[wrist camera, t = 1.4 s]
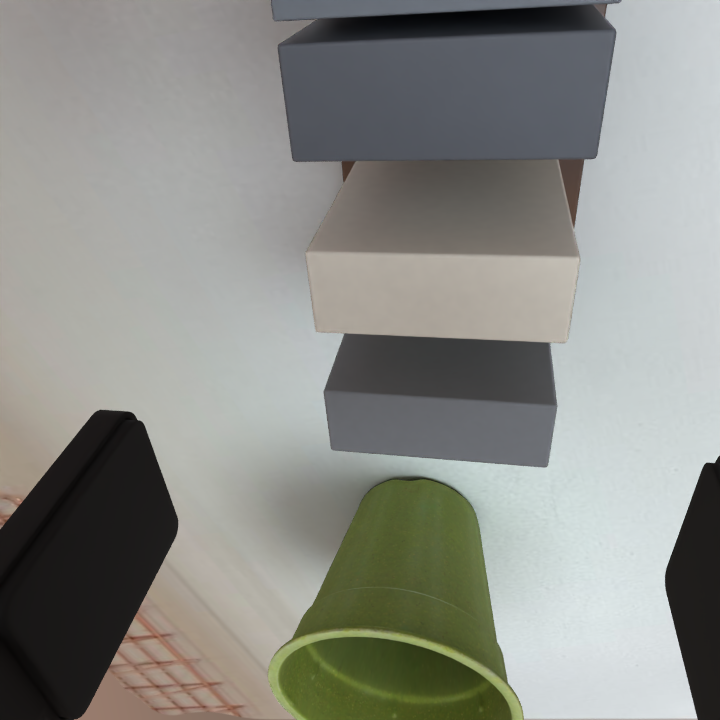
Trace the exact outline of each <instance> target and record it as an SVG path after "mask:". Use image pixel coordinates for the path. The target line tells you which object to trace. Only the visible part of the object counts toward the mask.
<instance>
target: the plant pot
mask: <svg viewBox="0 0 720 720" xmlns="http://www.w3.org/2000/svg"><path fill="white" fill-rule="evenodd" d="M268 680H269V683H270V687H271V689H272V692H273V694H274V695H275V697H276V699H277V700H278V702H279V703H280V704H281V706H282V707H283V708H284V709H285V710H286V711H287V712H288V713H290V714H291V715H292V716H293V717H294V718H295V719H296V720H524V716H523V710H522V706H521V704H520V701H519V699H518V697H517V695H516V694H515V692H514V691H513V689H512V688H511V687H510V685H509V684H508V681H507V675H506V670H505V664H504V658H503V654H502V651H501V649H500V647H499V645H498V643H497V639H496V632H495V626H494V620H493V613H492V607H491V601H490V595H489V588H488V582H487V575H486V568H485V562H484V555H483V549H482V542H481V535H480V529H479V524H478V520H477V517H476V513H475V511H474V509H473V507H472V506H471V505H470V503H469V502H468V501H467V500H466V499H465V498H464V497H463V496H461V495H460V494H459V493H457V492H456V491H455V490H453V489H451V488H449V487H447V486H445V485H443V484H440V483H437V482H434V481H430V480H425V479H420V480H415V481H404V480H398V479H394V480H389V481H386V482H384V483H381V484H379V485H377V486H375V487H374V488H372V489H371V490H370V491H369V492H368V493H367V494H366V495H365V496H364V498H363V499H362V501H361V503H360V505H359V507H358V510H357V512H356V514H355V516H354V518H353V520H352V522H351V524H350V527H349V529H348V531H347V533H346V535H345V537H344V540H343V542H342V544H341V546H340V548H339V550H338V552H337V554H336V556H335V558H334V561H333V563H332V565H331V567H330V569H329V571H328V573H327V575H326V578H325V580H324V582H323V584H322V586H321V589H320V591H319V593H318V595H317V597H316V599H315V601H314V603H313V605H312V606H311V607H310V608H309V609H308V610H307V612H306V613H305V614H304V616H303V618H302V619H301V621H300V623H299V626H298V628H297V630H296V632H295V634H294V636H293V638H292V639H291V640H290V641H288V642H287V643H286V644H284V645H283V646H282V647H281V648H280V649H279V650H278V651H277V652H276V653H275V655H274V656H273V658H272V660H271V662H270V665H269V669H268Z"/></svg>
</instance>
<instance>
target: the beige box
mask: <svg viewBox="0 0 720 720" xmlns="http://www.w3.org/2000/svg"><path fill="white" fill-rule="evenodd" d="M305 256H306V263H307V271H308V278H309V286H310V293H311V301H312V308H313V316H314V323H315V330H316V332H325V333H348V334H370V335H392V336H415V337H437V338H459V339H482V340H504V341H526V342H548V343H566V342H567V340H568V335H569V329H570V323H571V316H572V310H573V304H574V297H575V291H576V285H577V278H578V272H579V266H580V255H579V251H578V246H577V242H576V237H575V233H574V228H573V224H572V219H571V215H570V210H569V206H568V201H567V197H566V192H565V188H564V184H563V179H562V175H561V170H560V166H559V161H558V159H553V160H434V161H356V162H355V164H354V166H353V168H352V169H351V171H350V173H349V175H348V177H347V178H346V180H345V182H344V184H343V186H342V187H341V189H340V191H339V193H338V195H337V196H336V198H335V200H334V202H333V204H332V205H331V207H330V209H329V211H328V213H327V214H326V216H325V218H324V220H323V222H322V223H321V225H320V227H319V229H318V231H317V232H316V234H315V236H314V238H313V240H312V242H311V243H310V245H309V247H308V249H307V251H306V253H305Z"/></svg>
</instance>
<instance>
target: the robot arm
mask: <svg viewBox="0 0 720 720" xmlns="http://www.w3.org/2000/svg"><path fill="white" fill-rule="evenodd" d="M177 531H178V518H177V515H176V512H175V509H174V506H173V503H172V501H171V498H170V495H169V492H168V490H167V487H166V484H165V481H164V478H163V476H162V473H161V470H160V467H159V464H158V462H157V459H156V456H155V453H154V450H153V448H152V445H151V442H150V439H149V437H148V434H147V431H146V428H145V426H144V424H143V422H141V421H138V420H137V418H136V417H135V415H134V414H133V413H132V412H125V411H111V410H99V411H96V412H95V413H94V414H93V415H92V416H91V417H90V419H89V420H88V421H87V422H86V424H85V425H84V426H83V427H82V429H81V430H80V431H79V432H78V434H77V435H76V436H75V437H74V438H73V440H72V441H71V442H70V443H69V445H68V446H67V447H66V448H65V450H64V451H63V452H62V453H61V455H60V456H59V457H58V458H57V460H56V461H55V462H54V463H53V465H52V466H51V467H50V468H49V470H48V471H47V472H46V473H45V475H44V476H43V477H42V478H41V480H40V481H39V482H38V483H37V484H36V486H35V487H34V488H33V489H32V491H31V492H30V493H29V494H28V496H27V497H26V498H25V499H24V501H23V502H22V503H21V504H20V506H19V507H18V508H17V509H16V511H15V512H14V513H13V514H12V516H11V517H10V518H9V519H8V521H7V522H6V523H5V524H4V526H3V527H2V528H1V529H0V720H74V719H78V718H80V717H81V716H82V715H83V714H84V713H85V711H86V710H87V708H88V706H89V705H90V703H91V701H92V699H93V697H94V695H95V693H96V691H97V689H98V687H99V685H100V683H101V681H102V679H103V677H104V675H105V673H106V672H107V670H108V668H109V666H110V664H111V662H112V660H113V658H114V656H115V654H116V652H117V650H118V648H119V646H120V644H121V642H122V640H123V639H124V637H125V635H126V633H127V631H128V629H129V627H130V625H131V623H132V621H133V619H134V617H135V615H136V613H137V611H138V609H139V607H140V605H141V604H142V602H143V600H144V598H145V596H146V594H147V592H148V590H149V588H150V586H151V584H152V582H153V580H154V578H155V576H156V574H157V572H158V570H159V569H160V567H161V565H162V563H163V561H164V559H165V557H166V555H167V553H168V551H169V549H170V547H171V545H172V543H173V541H174V539H175V537H176V534H177ZM665 587H666V593H667V597H668V601H669V605H670V609H671V613H672V617H673V621H674V625H675V630H676V634H677V638H678V642H679V646H680V650H681V654H682V658H683V662H684V666H685V670H686V674H687V678H688V682H689V686H690V690H691V694H692V698H693V702H694V706H695V710H696V714H697V718H698V720H720V456H719V457H718V458H717V460H716V462H715V463H706V464H705V465H704V467H703V469H702V471H701V474H700V477H699V480H698V482H697V485H696V488H695V491H694V494H693V496H692V499H691V502H690V505H689V507H688V510H687V513H686V516H685V519H684V521H683V524H682V527H681V530H680V532H679V535H678V538H677V541H676V543H675V546H674V549H673V552H672V555H671V557H670V560H669V563H668V566H667V569H666V574H665Z"/></svg>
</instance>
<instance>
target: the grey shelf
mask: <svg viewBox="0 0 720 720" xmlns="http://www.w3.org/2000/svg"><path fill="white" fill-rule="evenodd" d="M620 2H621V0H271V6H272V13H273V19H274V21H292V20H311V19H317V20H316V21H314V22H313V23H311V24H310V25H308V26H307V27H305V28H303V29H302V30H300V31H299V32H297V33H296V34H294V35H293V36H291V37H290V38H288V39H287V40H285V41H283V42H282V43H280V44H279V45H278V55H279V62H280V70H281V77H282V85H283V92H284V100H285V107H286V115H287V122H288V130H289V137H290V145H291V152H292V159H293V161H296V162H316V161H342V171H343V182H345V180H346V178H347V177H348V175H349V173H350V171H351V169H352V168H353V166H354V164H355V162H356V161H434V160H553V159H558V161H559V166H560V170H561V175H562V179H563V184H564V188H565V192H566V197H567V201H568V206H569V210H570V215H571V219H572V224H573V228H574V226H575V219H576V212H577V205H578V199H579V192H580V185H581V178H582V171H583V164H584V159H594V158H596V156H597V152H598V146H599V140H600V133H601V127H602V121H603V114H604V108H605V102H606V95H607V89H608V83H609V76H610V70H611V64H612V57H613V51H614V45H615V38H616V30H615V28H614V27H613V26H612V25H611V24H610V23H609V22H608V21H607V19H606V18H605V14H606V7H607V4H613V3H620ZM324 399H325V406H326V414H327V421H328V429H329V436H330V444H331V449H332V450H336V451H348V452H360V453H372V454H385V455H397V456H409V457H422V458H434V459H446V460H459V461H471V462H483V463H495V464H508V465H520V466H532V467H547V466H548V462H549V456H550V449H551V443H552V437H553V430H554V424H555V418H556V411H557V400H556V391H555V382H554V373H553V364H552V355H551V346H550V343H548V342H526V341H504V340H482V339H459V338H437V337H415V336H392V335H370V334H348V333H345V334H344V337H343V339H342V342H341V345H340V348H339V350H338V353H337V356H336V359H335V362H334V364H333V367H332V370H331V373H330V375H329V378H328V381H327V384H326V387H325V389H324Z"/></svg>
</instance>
